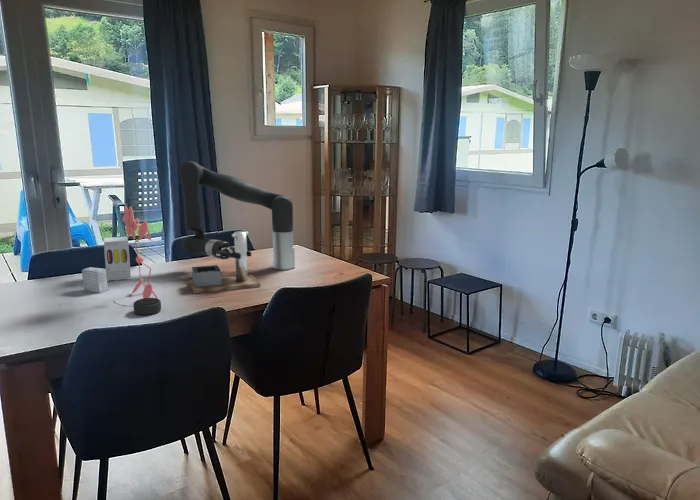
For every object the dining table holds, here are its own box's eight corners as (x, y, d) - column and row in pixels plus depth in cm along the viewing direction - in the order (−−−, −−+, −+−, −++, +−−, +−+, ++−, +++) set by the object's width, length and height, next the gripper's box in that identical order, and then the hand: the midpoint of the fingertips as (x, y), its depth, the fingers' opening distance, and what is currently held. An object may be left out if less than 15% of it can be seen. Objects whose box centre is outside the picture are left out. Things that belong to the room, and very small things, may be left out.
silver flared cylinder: (245, 277, 221) (244, 230, 217) (253, 279, 218) (252, 231, 214) (229, 281, 215) (227, 233, 210) (238, 283, 212) (236, 234, 208)
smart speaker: (157, 316, 179) (157, 305, 178) (130, 316, 178) (129, 305, 177) (164, 307, 187) (163, 296, 186) (138, 308, 186) (137, 297, 185)
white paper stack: (108, 290, 206) (106, 268, 204) (99, 293, 202) (97, 271, 200) (92, 288, 209) (90, 266, 207) (83, 291, 205) (81, 269, 203)
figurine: (144, 286, 211) (135, 199, 203) (167, 303, 191) (158, 208, 183) (103, 294, 202) (92, 203, 193) (123, 312, 182) (112, 212, 174)
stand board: (252, 278, 225) (252, 274, 225) (260, 286, 213) (260, 283, 213) (189, 283, 216) (189, 280, 216) (193, 293, 203) (193, 289, 203)
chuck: (217, 279, 218) (217, 265, 216) (221, 285, 209) (220, 270, 207) (192, 281, 214) (191, 267, 213) (195, 288, 205) (194, 273, 204)
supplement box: (106, 281, 218) (102, 241, 214) (106, 276, 226) (103, 237, 222) (131, 279, 222) (128, 240, 218) (130, 273, 230) (127, 236, 226)
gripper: (204, 243, 216) (231, 249, 206) (231, 237, 227) (258, 243, 217) (204, 260, 218) (231, 267, 208) (232, 254, 229) (258, 260, 219)
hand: (245, 255), depth 213 cm, fingers closed on silver flared cylinder, 5 cm apart
